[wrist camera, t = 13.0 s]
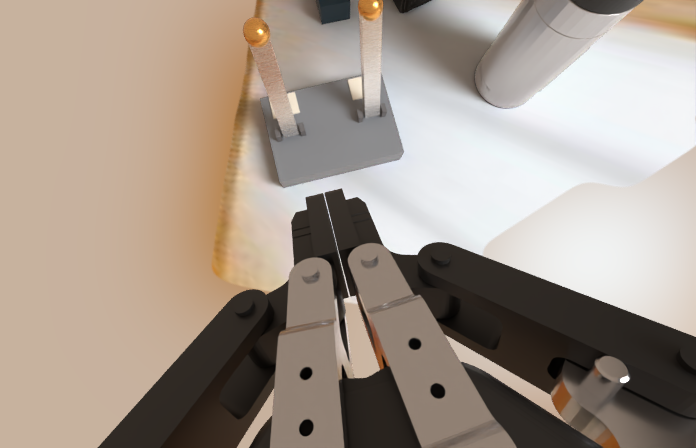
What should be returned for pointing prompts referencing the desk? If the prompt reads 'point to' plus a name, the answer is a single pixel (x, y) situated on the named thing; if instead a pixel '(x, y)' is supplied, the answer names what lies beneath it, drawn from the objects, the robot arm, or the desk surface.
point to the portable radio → (408, 4)
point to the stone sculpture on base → (333, 10)
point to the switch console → (332, 133)
